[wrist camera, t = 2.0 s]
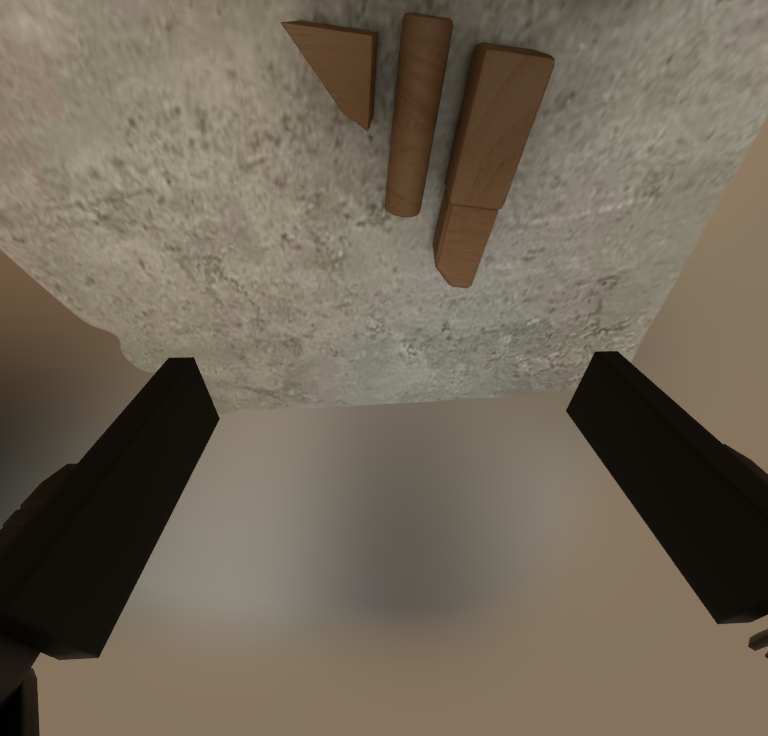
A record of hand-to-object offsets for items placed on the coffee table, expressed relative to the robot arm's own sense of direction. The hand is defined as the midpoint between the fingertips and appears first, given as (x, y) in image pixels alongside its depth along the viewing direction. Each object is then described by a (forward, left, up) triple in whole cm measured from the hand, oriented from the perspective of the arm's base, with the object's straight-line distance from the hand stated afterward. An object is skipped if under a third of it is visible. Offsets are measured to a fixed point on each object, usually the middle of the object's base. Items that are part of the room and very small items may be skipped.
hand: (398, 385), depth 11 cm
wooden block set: (+1, 0, -26) cm, 26 cm away
